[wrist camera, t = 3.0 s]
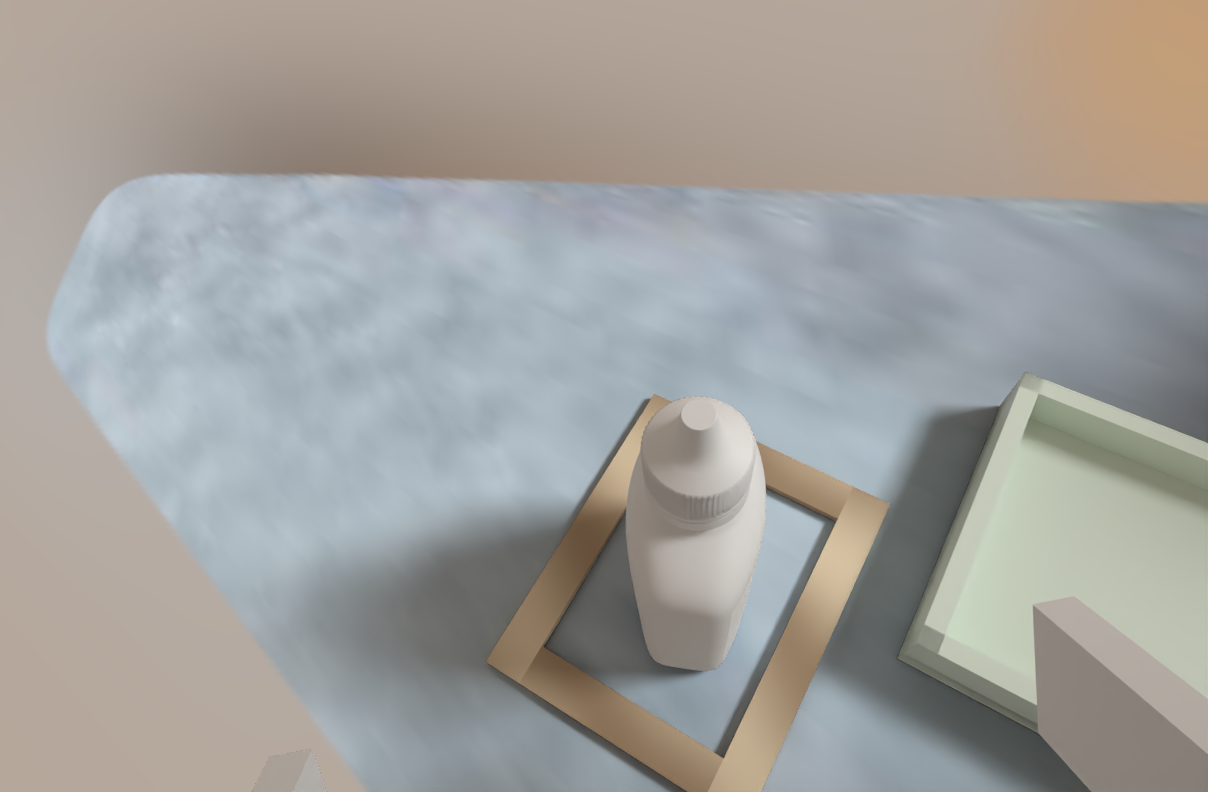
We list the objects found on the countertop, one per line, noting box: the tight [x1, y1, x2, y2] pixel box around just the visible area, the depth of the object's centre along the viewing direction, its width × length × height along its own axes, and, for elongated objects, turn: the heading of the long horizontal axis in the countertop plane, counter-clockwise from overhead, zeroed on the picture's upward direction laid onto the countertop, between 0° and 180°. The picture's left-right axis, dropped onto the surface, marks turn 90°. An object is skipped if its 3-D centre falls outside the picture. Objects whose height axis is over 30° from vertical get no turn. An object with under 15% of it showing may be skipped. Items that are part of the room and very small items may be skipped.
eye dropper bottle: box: [626, 396, 766, 671], centre depth 20 cm, size 4×6×12 cm
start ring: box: [486, 394, 890, 792], centre depth 25 cm, size 11×9×1 cm
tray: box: [897, 372, 1208, 734], centre depth 22 cm, size 10×13×2 cm
